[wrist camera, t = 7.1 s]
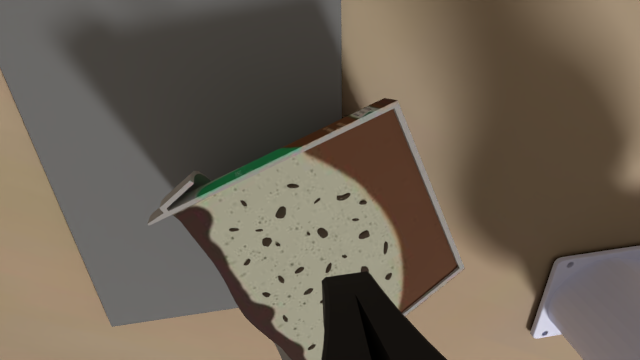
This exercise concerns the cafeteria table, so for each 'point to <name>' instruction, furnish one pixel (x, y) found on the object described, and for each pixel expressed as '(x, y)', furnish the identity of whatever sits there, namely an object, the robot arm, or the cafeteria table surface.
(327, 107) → the mat
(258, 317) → the food container
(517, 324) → the cafeteria table surface
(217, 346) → the cafeteria table surface
